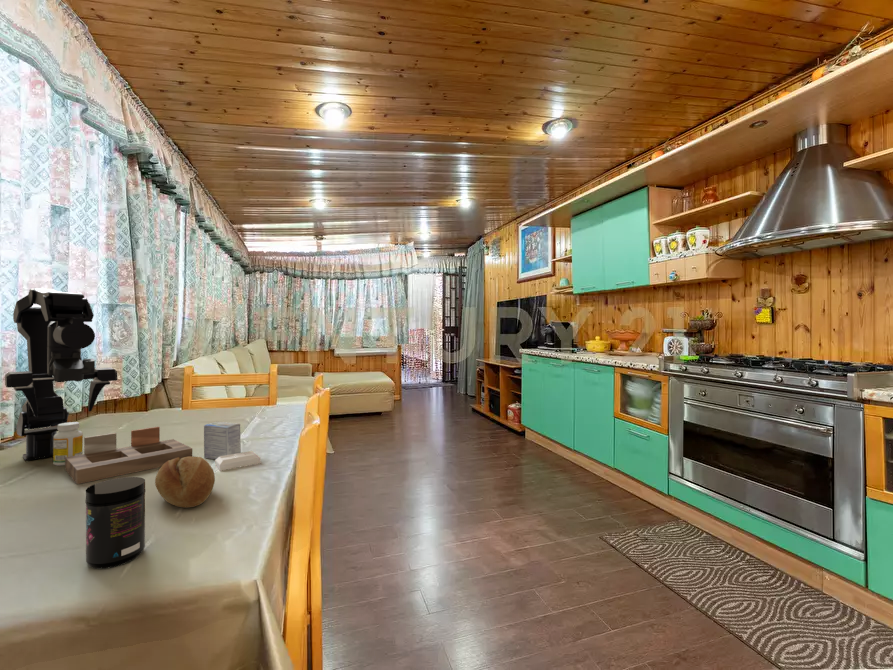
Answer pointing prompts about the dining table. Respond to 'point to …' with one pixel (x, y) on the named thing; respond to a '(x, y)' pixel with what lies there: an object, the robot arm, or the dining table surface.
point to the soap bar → (236, 460)
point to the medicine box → (221, 439)
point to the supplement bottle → (67, 442)
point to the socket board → (123, 455)
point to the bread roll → (185, 481)
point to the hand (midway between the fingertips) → (64, 413)
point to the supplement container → (115, 521)
